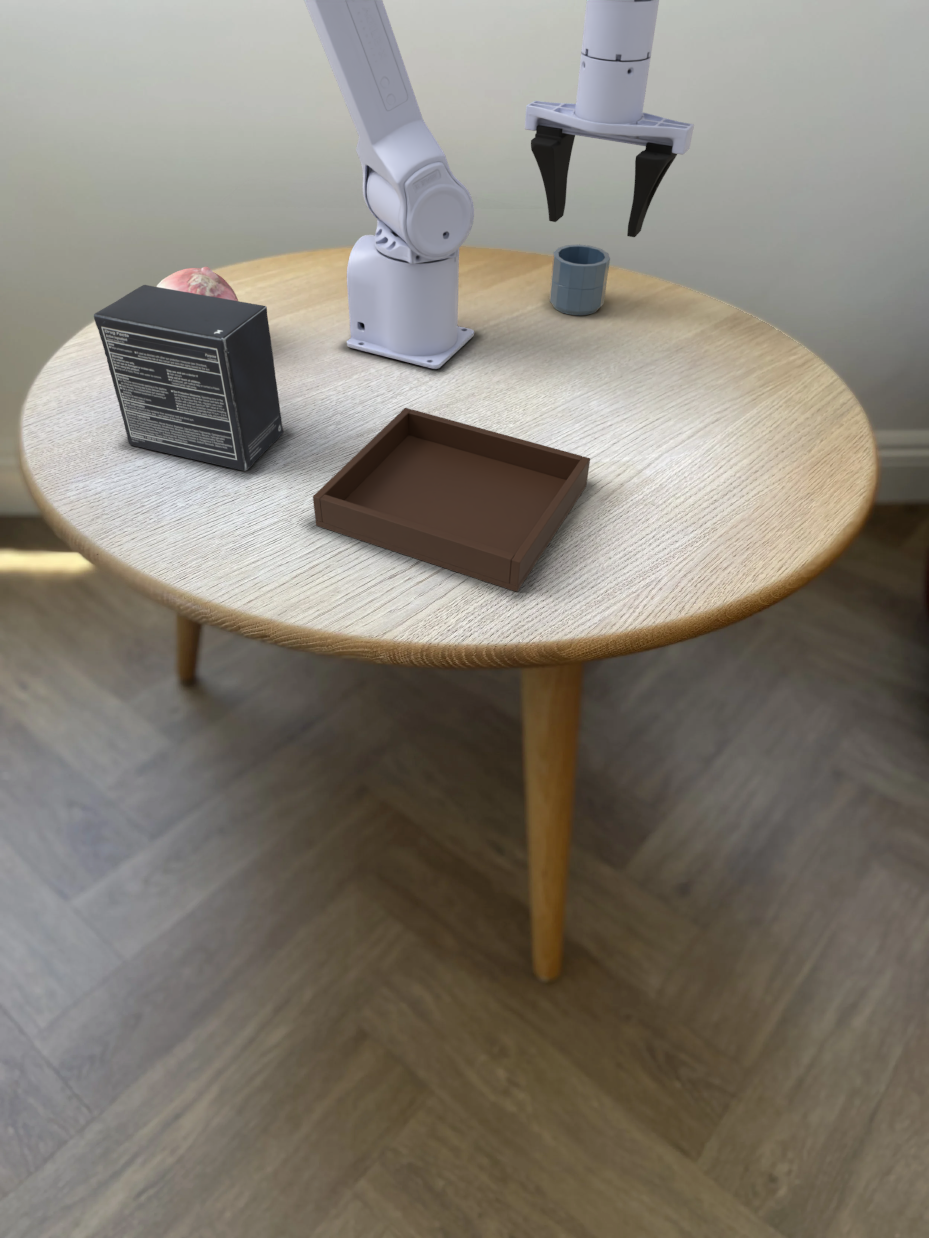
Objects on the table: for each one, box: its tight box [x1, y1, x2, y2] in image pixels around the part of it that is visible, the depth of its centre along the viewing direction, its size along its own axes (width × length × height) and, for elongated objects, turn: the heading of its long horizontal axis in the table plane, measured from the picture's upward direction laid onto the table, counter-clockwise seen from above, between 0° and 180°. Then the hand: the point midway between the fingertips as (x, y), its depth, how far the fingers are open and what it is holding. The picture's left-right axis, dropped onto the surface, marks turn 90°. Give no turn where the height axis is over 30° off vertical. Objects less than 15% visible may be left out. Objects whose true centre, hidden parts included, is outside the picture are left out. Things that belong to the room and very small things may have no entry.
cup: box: [548, 243, 611, 316], centre depth 85 cm, size 5×6×5 cm
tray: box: [312, 407, 591, 593], centre depth 61 cm, size 15×13×2 cm
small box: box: [93, 284, 284, 472], centre depth 64 cm, size 11×6×10 cm, turn 71°
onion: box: [156, 266, 239, 301], centre depth 76 cm, size 8×8×7 cm
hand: (594, 225), depth 80 cm, fingers open, 7 cm apart
